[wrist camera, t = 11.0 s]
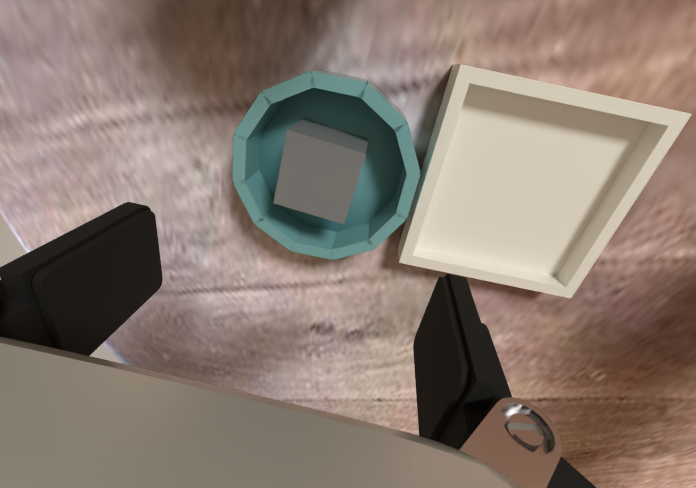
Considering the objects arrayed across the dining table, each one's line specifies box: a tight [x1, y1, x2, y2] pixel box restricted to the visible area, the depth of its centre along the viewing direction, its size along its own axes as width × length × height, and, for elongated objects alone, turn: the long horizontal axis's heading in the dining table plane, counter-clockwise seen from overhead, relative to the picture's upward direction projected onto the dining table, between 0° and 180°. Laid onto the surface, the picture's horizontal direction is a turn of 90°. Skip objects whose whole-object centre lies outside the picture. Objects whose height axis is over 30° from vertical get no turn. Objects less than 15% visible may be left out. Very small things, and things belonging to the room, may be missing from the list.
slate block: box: [274, 118, 368, 224], centre depth 21 cm, size 4×4×4 cm
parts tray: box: [398, 64, 692, 298], centre depth 22 cm, size 13×13×2 cm
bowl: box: [233, 70, 420, 260], centre depth 22 cm, size 12×12×4 cm
